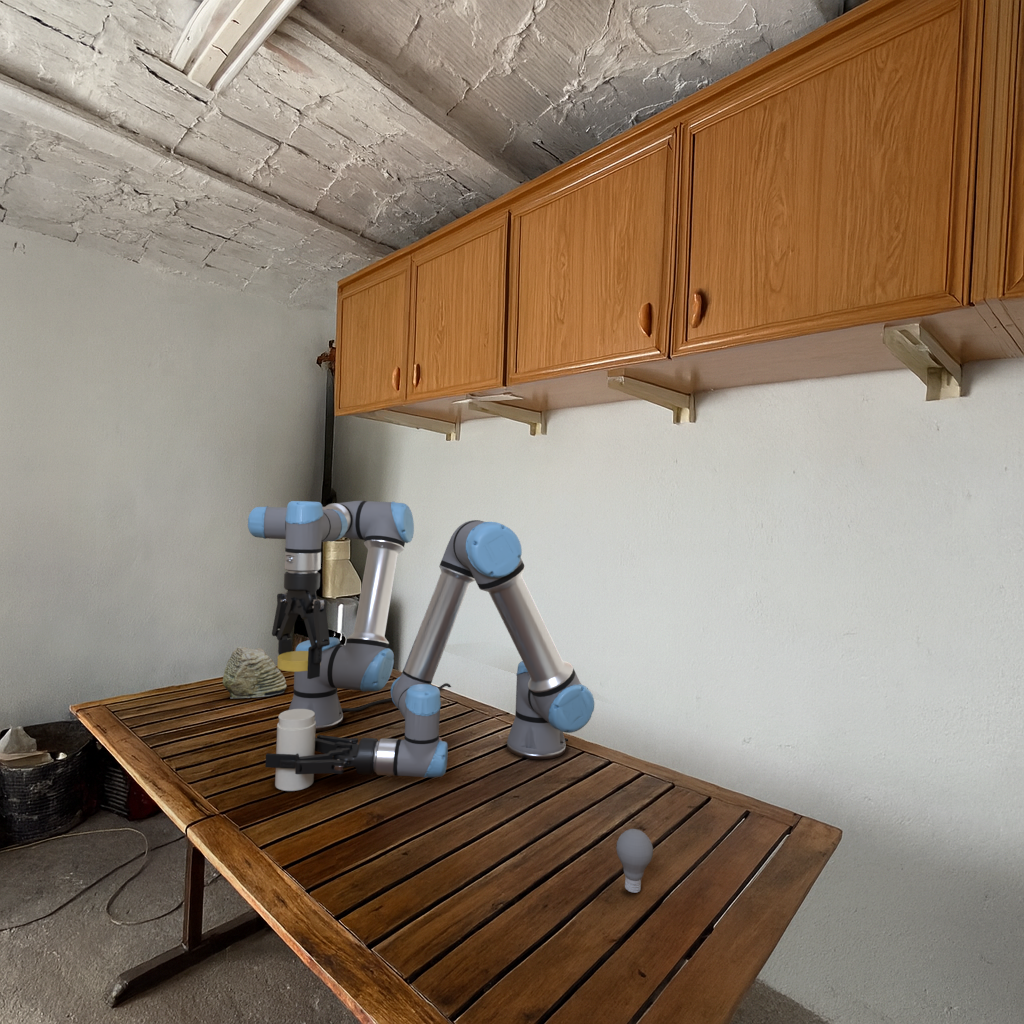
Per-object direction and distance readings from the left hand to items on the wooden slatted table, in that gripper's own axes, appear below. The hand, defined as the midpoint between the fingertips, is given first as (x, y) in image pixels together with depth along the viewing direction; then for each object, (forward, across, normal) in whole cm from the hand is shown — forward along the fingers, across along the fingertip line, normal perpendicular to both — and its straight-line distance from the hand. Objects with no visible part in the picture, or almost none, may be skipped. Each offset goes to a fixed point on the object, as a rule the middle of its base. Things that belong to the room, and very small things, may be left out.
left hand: (298, 673), depth 139 cm
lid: (-4, 0, 0) cm, 4 cm away
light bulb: (+24, +76, +8) cm, 80 cm away
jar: (+24, 0, 0) cm, 24 cm away
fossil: (+24, -59, +31) cm, 71 cm away
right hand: (+18, -4, -3) cm, 18 cm away
